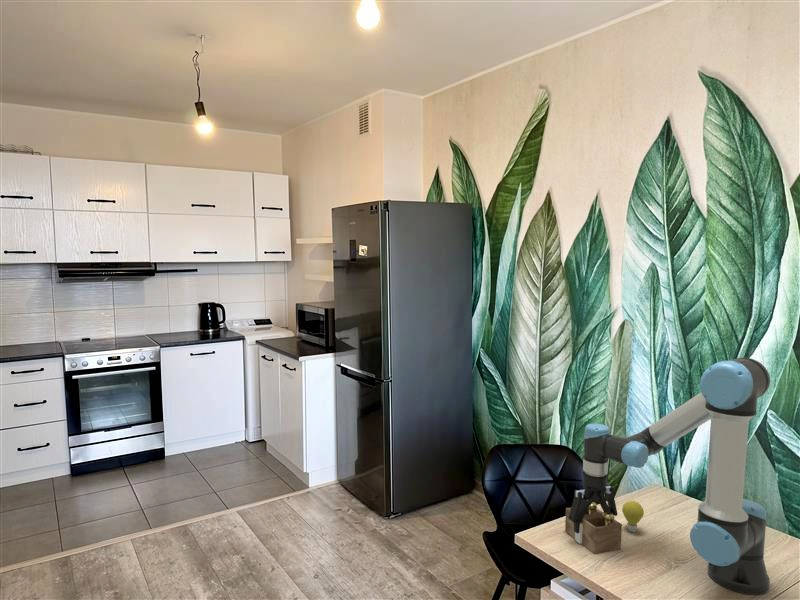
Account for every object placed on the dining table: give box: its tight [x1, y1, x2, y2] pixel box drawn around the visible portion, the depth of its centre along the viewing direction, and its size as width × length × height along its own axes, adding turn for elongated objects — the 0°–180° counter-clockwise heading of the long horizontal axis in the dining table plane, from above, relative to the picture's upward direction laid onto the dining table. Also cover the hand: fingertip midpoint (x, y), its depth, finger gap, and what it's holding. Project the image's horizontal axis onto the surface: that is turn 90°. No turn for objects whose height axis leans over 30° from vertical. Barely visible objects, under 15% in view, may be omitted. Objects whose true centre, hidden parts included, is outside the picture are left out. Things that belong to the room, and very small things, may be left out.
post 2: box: [602, 511, 615, 526], centre depth 177 cm, size 3×3×10 cm
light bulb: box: [621, 500, 645, 533], centre depth 187 cm, size 7×7×10 cm
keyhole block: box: [564, 507, 623, 555], centre depth 180 cm, size 15×10×8 cm, turn 19°
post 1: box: [588, 501, 598, 514], centre depth 185 cm, size 3×3×10 cm
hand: (592, 539), depth 180 cm, fingers closed on keyhole block, 10 cm apart
